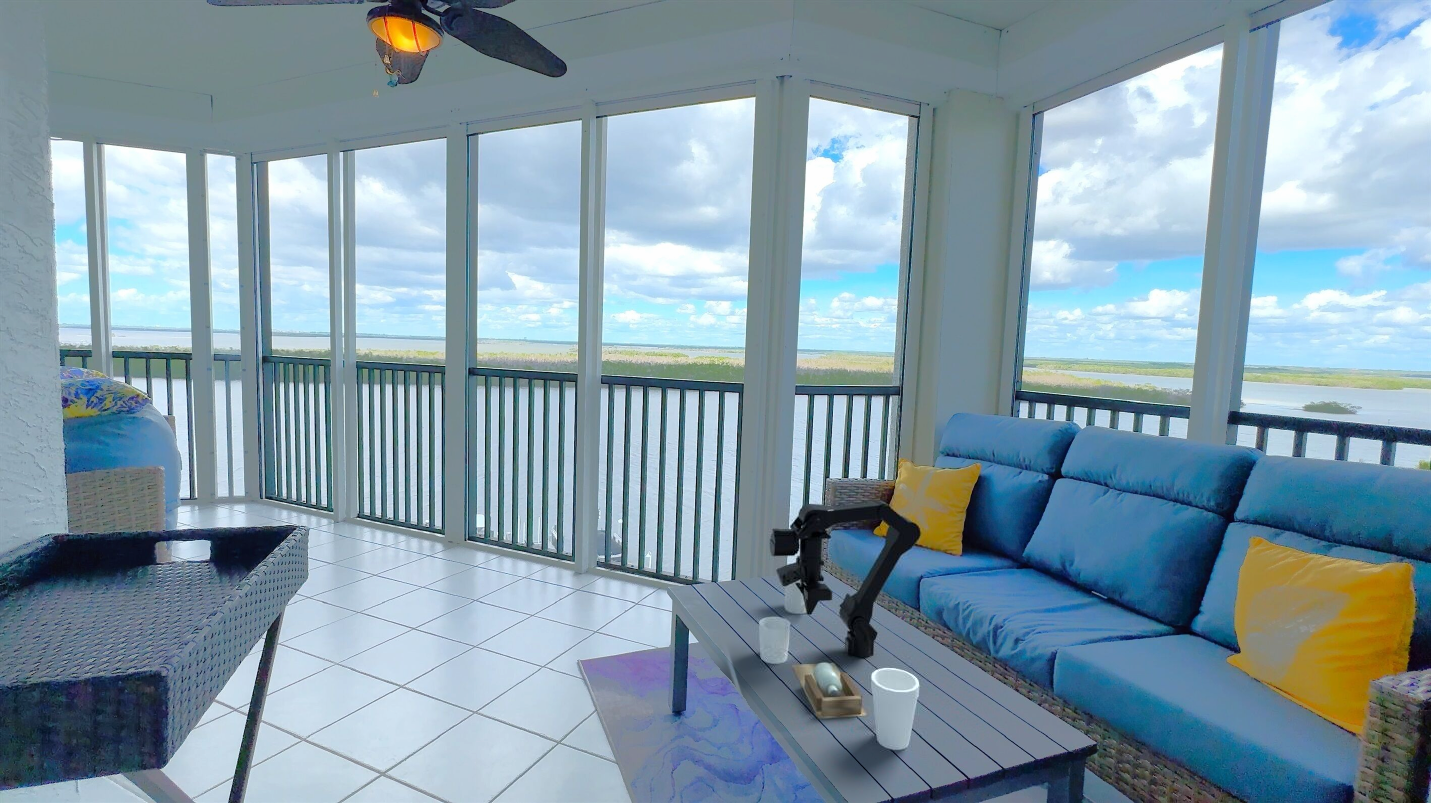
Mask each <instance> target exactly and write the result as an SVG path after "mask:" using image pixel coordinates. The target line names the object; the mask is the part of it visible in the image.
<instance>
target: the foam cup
mask: <svg viewBox="0 0 1431 803" xmlns="http://www.w3.org/2000/svg"><path fill="white" fill-rule="evenodd" d="M870 690H871V692H872V701H873V711H874V722H875V724H874V726H875V733H876V734H875V735H876V740H877V742H878V743H879V745H880V746H883V747H884V748H886V749H889V750H893V751H902V750H904V749H906V748H907V747H908V746H909V743H910V740H911V735H912V728H913V723H914V718H915V713H916V707H917V704H918V703H917V701H918V698H919V697H920V695H919V694H920V682H919V679H918V678H917V677H916V676H915V675H914V674H912V673H910V672H908V671H906V670H903V669H899V668H894V667H892V668H891V667H883V668H882V667H881V668H879V669H876V670H874V671H873V672H872V673H871V683H870Z"/></svg>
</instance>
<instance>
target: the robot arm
mask: <svg viewBox="0 0 1431 803" xmlns="http://www.w3.org/2000/svg"><path fill="white" fill-rule="evenodd" d="M870 520H881V521H882V522H884V524H885V525H887V526H888V528H887V530H886V532H885V540H884V541H885V542H884V546H883V547H882V550H881V551H880V552H879V554H878V556H877V558H876V560H875V562H874V563H873V565H872V567H871V568H870V570H869V572H868V573H867V574H866V577H865V579H864V580H863V582H862V583H861V586H859V587H860V588H858V590H857V592H855V593H854V594H852V595H850V593H846V595H845V597H844V599H843V601H842V602H841V603H840V604H839V618H840V619H841V621H842V623H843V624H844V625H845V626H846V627H847V629H848V630H847V631H846V632H847V633H846V636H845V637H844V653H845V654H846V656H848V657H855V658H857V659H868V658H870V657H871V656H872V657H873V656H874V650H875V640H876V638H877V637H878V634H879V633H878V631H877V630H876V629H875V628H874V627H873V625H872V624H871V620H872V618H873V611H874V604H875V602H876V600H877V598H878V597H879V595H880V593H881V591H882V589H883V588H884V586H885V584H886V583H887V582H888V579H889V577H890V575H891V574H892V572H893V570H894V569H895V567H896V565H897V564H898V563H899V562H898V561H899V560H901V557H902V556H903V555H904V554H906V553H907V552H909V551H910V550H912V548H913V547H914V546H915V545H916V544H917V543H918V541H919V540H920V537H921V534H922V532H921V529H920V528H921V527H919V525H918V524H917V523H916V522H914V521H912V520H911V519H909V518H908V517H906V516H903V515H900V514H899V513H898V512H897V511H895V510H894V509H893V508H892V507H891V506H890V505H889V504H888V503H886V502H884V501H883V500H876V501H871V502H860V503H852V504H844V505H832V506H831V505H825V504H820V503H819V504H816V503H806V504H804V505H802V506H801V508H800V509H799V511H798V515H797V517H796V518H795V519H794V520H793V522H792V523H791V525H790V526H789V527H790V528H772V529H771V531H772V532H771V534H770V538H769V552H770V555H771V557H790V556H791V557H794V556H795V555H797V556H795V557H796V558H795V562H792V563H789V564H786V565H783V566H781V567H778V568H776V570H775V571H776V574H777V577H778V580H779V583H780V584H781V585H782V586H783V587H785V586H788V585H789V584H792V583H795V582H797V581H798V583H795V584H796V586H797V587H798V589H799V590H800V592H801V593H802V595H803V599H804V604H805V608H806V613H805V614H806V615H808V616H810V615H812V614H813V612H814V611H815V608H816V607H817V605H818V603H819V602H820V601H821V602H823V601H832V600H833V591H832V590H831V588H830V587H829V586H828V585H827V584H826V583H822V582H824V579H825V578H824V576H823V575H822V574H823V573H822V569H823V568H822V566H825V561H824V559H823V540H825V539H826V540H829V539H831V538H832V535H830V534H829V533H828V532H827V530H828V529H830V528H831V527H833V526H835V525H838V524H839V525H840V524H846V523H855V522H864V521H870ZM826 529H827V530H826ZM798 553H799V555H798Z"/></svg>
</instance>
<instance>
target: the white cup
mask: <svg viewBox="0 0 1431 803" xmlns="http://www.w3.org/2000/svg"><path fill="white" fill-rule="evenodd" d="M758 627H759V628H758V630H759V631H758V633H759V634H758V636H759V638H758V640H759V651H760V656H759V657H760V658H761V660H762V661H764V662H765V663H768V664H772V665H773V664H774V665H778V664H783V663H784V662H786V661H787V660H788V653H789V645H790V631H791V622H790V621H789V620H788V619H786V618H784V617H779V616H769V617H768V616H767V617H764V618H761V619H760V620H759V622H758Z"/></svg>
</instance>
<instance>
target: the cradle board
mask: <svg viewBox="0 0 1431 803" xmlns="http://www.w3.org/2000/svg"><path fill="white" fill-rule="evenodd" d="M827 663H828V664H830V665H831V666H832V667H833V669H834V671H835V673H836V675H837V677H838V678H839V680H840V682H841V684H842V692H841V697H828V698H825V697H824V696H823V695H822V693H821V691H820V689H819V687H818V685H817V683H816V681H815V679H814V676H813V670H814V668H815V667H816V665H818V664H819V663H808V664H807V663H806V664H803V663H802V664H791V668H792V669H793V671H794V674H795V676H796V677H797V679H798V681H799V683H800V686H801V687H802V689H803V691H804V693H805V695H806V698H807V699H808V702H809V703H810V705H811V707H812V709H813V711H814V713H815V715H816V717H817V719H818V720H819V719H832V718H833V719H834V718H836V719H837V718H850V717H867V716H868V714H867V712H866V711H865V709H864V707H863V706H862V705H863V695H862V693H861V692H860V690H858V687H857V686H856V684H855V683H854V681H853V680H852V678H851V677H850V675H849V674H848V672H840V670H839V668H838V666H836V663H835V662H827Z"/></svg>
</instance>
